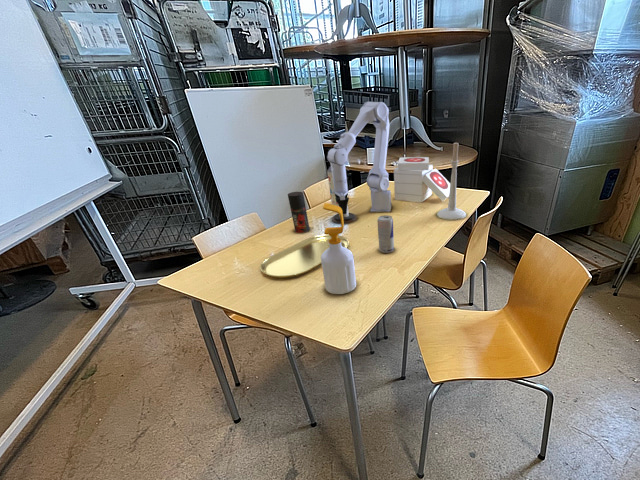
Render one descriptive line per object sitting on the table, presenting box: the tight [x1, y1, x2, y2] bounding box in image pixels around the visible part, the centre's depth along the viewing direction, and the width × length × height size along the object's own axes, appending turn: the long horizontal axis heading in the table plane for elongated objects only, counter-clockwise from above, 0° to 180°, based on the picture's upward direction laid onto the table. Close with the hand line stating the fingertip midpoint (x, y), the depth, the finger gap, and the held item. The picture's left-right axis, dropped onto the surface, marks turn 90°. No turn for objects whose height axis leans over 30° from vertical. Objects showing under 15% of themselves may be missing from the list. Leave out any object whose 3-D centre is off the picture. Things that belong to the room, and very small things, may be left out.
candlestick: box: [436, 142, 467, 221], centre depth 142 cm, size 13×13×30 cm
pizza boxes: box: [393, 156, 451, 203], centre depth 168 cm, size 19×30×18 cm, turn 65°
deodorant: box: [287, 191, 311, 234], centre depth 134 cm, size 6×6×15 cm
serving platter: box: [259, 234, 350, 279], centre depth 116 cm, size 19×35×2 cm, turn 148°
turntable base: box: [331, 213, 358, 225], centre depth 148 cm, size 11×11×1 cm
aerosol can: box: [326, 166, 338, 206], centre depth 160 cm, size 7×7×20 cm
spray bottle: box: [333, 201, 355, 221], centre depth 146 cm, size 9×9×8 cm
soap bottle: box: [321, 202, 357, 295], centre depth 92 cm, size 9×9×25 cm
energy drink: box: [376, 214, 395, 254], centre depth 117 cm, size 5×5×12 cm
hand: (343, 211), depth 146 cm, fingers closed on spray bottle, 4 cm apart
